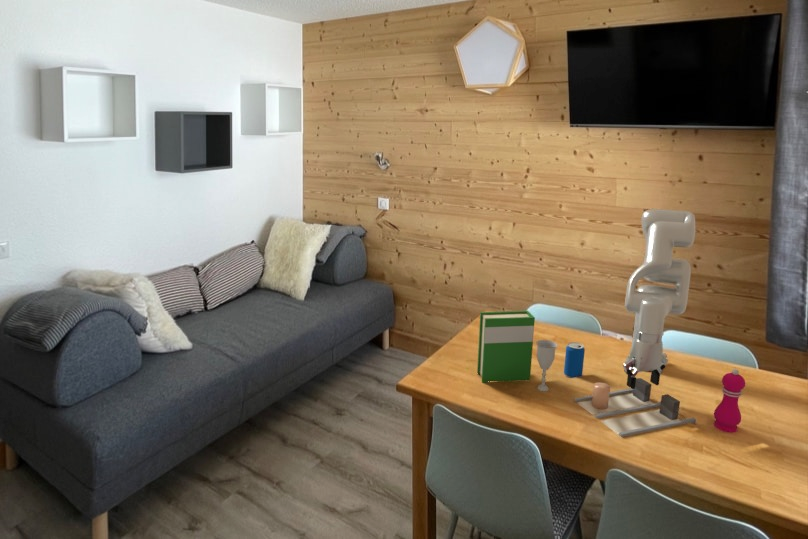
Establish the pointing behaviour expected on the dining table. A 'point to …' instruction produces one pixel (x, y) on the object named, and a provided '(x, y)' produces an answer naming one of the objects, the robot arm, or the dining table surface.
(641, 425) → the strip
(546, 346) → the chalice
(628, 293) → the robot arm
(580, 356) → the beverage can
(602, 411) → the strip
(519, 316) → the hardback book
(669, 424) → the track board
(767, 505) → the dining table surface
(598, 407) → the light brown rounded piece
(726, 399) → the pepper mill
